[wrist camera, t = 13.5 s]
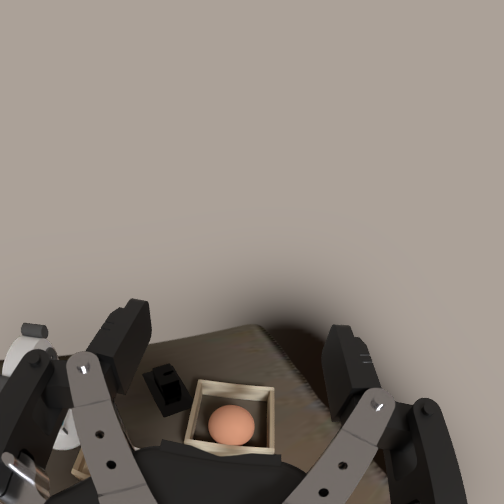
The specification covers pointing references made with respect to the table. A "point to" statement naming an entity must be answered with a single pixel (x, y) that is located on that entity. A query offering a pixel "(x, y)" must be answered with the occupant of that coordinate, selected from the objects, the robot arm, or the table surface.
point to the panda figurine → (37, 339)
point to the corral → (237, 393)
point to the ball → (231, 425)
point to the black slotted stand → (168, 390)
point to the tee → (80, 467)
